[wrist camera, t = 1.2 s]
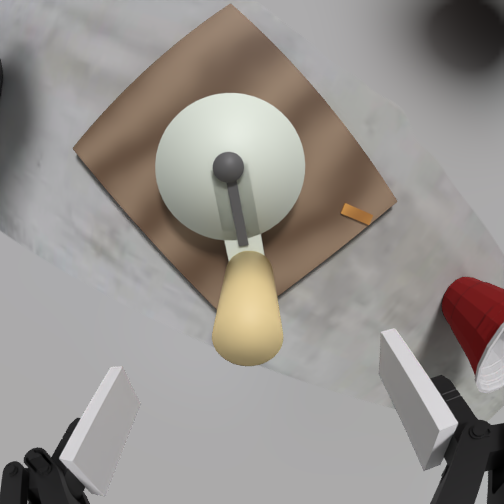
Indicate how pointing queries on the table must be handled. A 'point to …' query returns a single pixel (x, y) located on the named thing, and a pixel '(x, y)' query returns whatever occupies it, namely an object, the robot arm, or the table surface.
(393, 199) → the base plate
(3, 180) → the table surface
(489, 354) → the plastic cup
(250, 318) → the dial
